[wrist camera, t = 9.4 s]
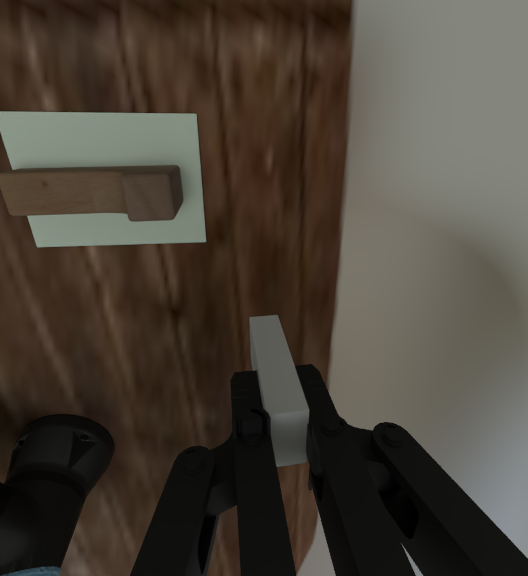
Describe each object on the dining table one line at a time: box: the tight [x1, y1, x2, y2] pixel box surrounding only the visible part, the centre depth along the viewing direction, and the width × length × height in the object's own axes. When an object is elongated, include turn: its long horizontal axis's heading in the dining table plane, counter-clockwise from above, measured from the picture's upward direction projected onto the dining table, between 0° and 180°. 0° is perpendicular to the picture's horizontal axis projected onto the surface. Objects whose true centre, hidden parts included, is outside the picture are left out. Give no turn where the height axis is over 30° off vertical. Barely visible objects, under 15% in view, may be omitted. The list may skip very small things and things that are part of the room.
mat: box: [0, 112, 206, 247], centre depth 39 cm, size 21×15×1 cm
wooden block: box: [0, 165, 184, 222], centre depth 34 cm, size 9×4×18 cm
